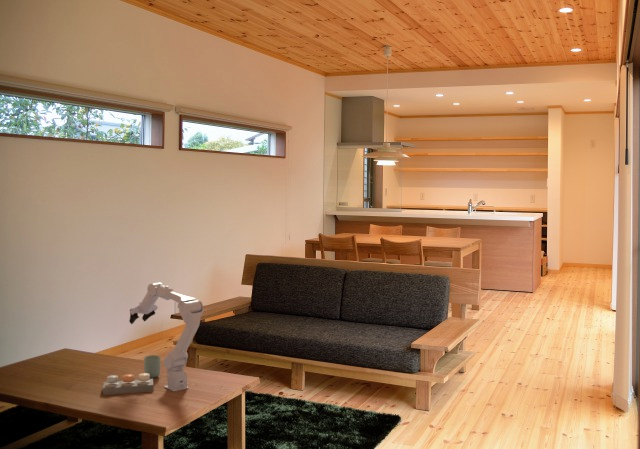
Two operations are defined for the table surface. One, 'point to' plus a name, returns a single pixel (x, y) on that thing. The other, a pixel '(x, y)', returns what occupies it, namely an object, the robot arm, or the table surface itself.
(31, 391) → the table surface
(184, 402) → the table surface
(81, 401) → the table surface
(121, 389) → the console
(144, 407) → the table surface
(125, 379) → the terracotta button
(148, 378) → the cream button
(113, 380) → the light grey button
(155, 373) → the cup
